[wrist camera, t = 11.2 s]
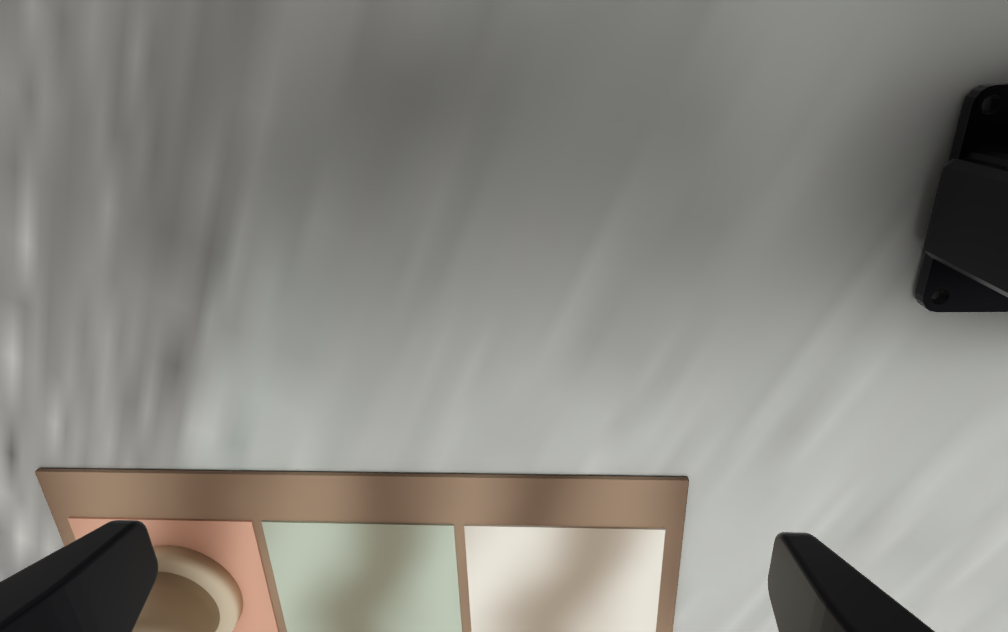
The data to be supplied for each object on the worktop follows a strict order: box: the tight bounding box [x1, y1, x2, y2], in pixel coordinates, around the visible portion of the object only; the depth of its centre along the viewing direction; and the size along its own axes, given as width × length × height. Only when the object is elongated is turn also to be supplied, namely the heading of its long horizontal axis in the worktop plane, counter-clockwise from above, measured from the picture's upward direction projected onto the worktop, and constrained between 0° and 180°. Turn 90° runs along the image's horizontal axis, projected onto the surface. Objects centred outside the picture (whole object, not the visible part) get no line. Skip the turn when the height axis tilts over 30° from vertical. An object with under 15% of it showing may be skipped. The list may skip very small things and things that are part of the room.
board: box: [35, 468, 689, 632], centre depth 25 cm, size 25×12×1 cm, turn 92°
